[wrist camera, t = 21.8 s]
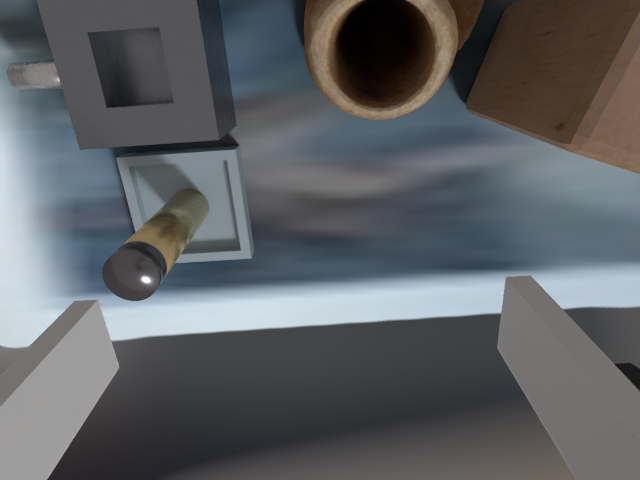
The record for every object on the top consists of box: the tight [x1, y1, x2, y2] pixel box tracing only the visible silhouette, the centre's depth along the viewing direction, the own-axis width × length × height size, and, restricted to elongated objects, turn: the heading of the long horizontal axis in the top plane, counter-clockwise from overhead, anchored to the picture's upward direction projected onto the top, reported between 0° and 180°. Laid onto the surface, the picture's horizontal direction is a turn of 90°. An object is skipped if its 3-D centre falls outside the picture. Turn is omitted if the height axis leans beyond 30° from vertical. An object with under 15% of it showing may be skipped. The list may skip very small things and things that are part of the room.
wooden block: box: [466, 0, 640, 174], centre depth 32 cm, size 10×10×20 cm
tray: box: [116, 145, 254, 263], centre depth 46 cm, size 12×12×2 cm
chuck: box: [7, 0, 236, 150], centre depth 37 cm, size 12×18×8 cm, turn 94°
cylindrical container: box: [102, 189, 209, 301], centre depth 38 cm, size 4×4×16 cm
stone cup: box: [304, 0, 484, 120], centre depth 33 cm, size 15×12×15 cm
